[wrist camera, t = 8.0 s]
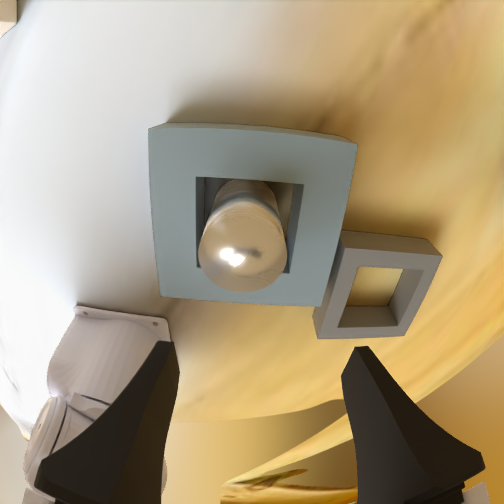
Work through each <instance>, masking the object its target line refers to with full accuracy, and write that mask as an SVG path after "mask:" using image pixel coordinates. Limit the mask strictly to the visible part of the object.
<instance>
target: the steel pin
mask: <svg viewBox="0 0 504 504" xmlns="http://www.w3.org/2000/svg"><path fill="white" fill-rule="evenodd" d="M198 258H199V263H200V266H201V268H202V270H203V272H204V273H205V275H206V276H207V277H208V278H209V279H210V280H211V281H212V282H213V283H215V284H216V285H218V286H219V287H221V288H224V289H226V290H229V291H233V292H253V291H258V290H261V289H263V288H265V287H267V286H269V285H271V284H272V283H273V282H274V281H276V280H277V279H278V277H279V276H280V275H281V274H282V272H283V270H284V268H285V265H286V261H287V249H286V244H285V239H284V234H283V229H282V225H281V220H280V215H279V211H278V206H277V202H276V198H275V195H274V193H273V192H272V190H271V189H270V188H269V187H268V186H267V185H266V184H265V183H263V182H262V181H260V180H249V179H233V180H231V181H229V182H227V183H226V184H225V185H223V186H222V187H221V188H220V190H219V191H218V193H217V195H216V197H215V200H214V203H213V206H212V209H211V212H210V215H209V217H208V220H207V223H206V226H205V229H204V232H203V235H202V238H201V242H200V245H199V249H198Z"/></svg>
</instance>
